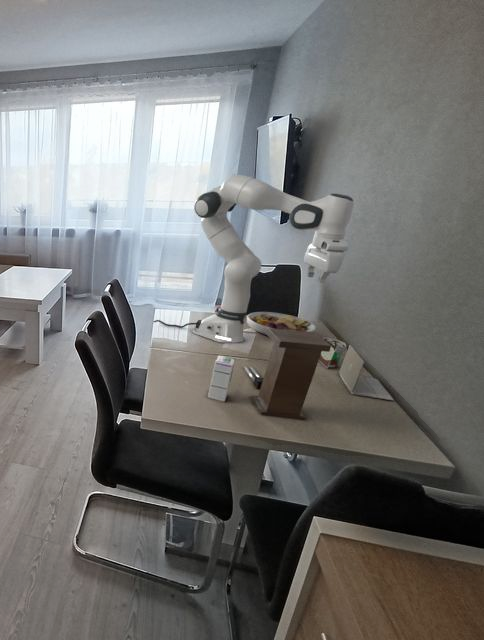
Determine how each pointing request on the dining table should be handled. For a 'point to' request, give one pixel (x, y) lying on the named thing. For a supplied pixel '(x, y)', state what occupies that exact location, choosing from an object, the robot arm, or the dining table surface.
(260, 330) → the bowl
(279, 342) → the stand
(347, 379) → the laptop
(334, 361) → the food container
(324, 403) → the dining table surface
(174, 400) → the dining table surface
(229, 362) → the syrup box
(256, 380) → the twin chrome rods
